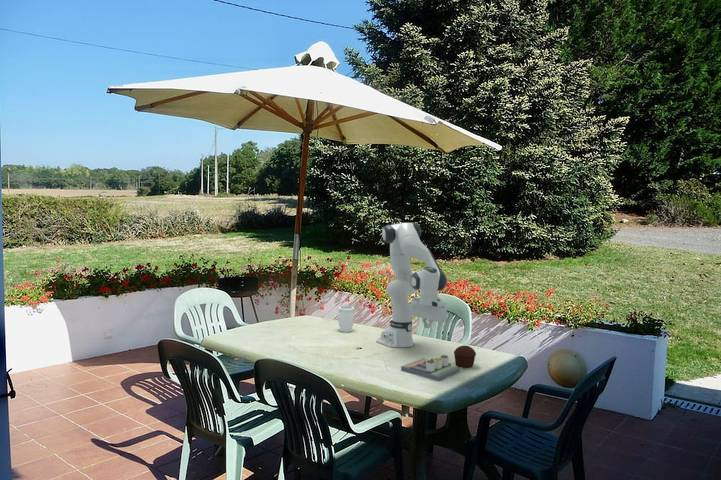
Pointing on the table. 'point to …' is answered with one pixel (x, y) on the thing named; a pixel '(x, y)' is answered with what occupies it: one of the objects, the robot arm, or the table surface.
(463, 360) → the muffin
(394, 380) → the table surface
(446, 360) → the breaker
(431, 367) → the breaker
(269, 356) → the table surface
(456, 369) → the panel
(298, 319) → the table surface
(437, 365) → the breaker mid
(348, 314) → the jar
